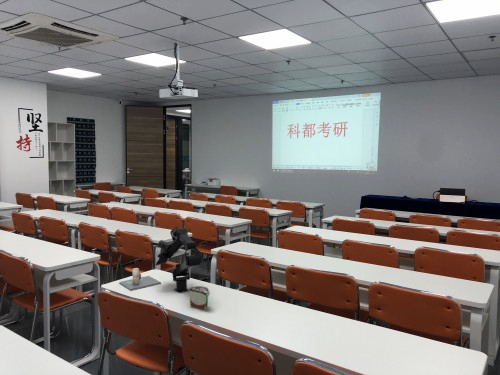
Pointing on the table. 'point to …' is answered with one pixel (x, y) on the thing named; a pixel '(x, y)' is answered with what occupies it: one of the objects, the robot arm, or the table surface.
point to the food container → (199, 297)
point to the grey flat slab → (140, 283)
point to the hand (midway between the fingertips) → (157, 264)
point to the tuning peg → (136, 276)
